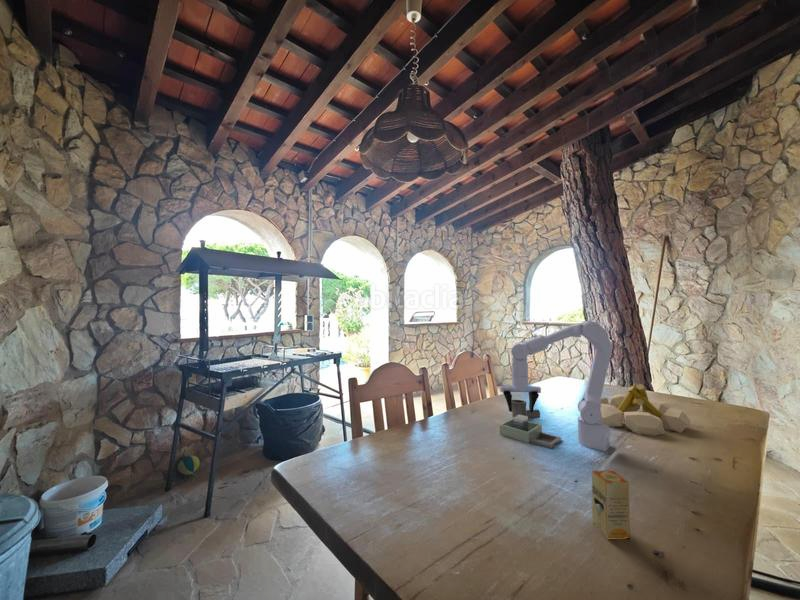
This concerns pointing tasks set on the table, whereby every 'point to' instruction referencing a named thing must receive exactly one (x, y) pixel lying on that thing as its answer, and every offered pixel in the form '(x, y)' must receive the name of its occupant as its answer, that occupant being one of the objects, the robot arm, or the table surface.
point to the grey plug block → (521, 422)
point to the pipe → (523, 410)
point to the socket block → (546, 440)
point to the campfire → (641, 413)
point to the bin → (520, 431)
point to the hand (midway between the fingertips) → (520, 411)
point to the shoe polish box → (610, 504)
